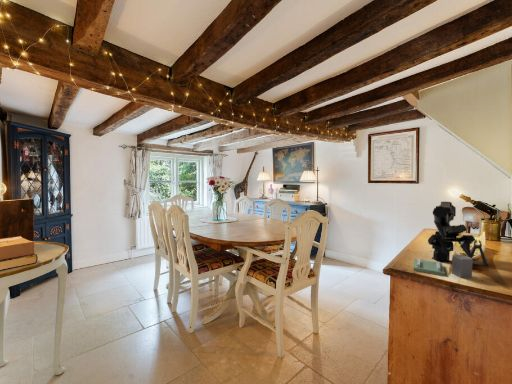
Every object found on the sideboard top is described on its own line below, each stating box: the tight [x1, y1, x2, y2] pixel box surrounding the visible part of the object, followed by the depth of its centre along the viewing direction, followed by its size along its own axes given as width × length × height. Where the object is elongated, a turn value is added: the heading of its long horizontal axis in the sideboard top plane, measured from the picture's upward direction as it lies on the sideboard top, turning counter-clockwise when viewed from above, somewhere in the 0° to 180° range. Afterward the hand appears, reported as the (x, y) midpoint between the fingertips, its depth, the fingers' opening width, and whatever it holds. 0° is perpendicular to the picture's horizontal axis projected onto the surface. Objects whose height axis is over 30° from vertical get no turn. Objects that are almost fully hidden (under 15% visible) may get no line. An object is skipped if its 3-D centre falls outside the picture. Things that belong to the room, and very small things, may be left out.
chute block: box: [451, 254, 474, 279], centre depth 114 cm, size 5×5×9 cm
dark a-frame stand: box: [467, 239, 490, 268], centre depth 130 cm, size 9×6×12 cm, turn 50°
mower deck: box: [413, 258, 445, 277], centre depth 123 cm, size 12×16×3 cm
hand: (459, 255), depth 115 cm, fingers open, 9 cm apart
